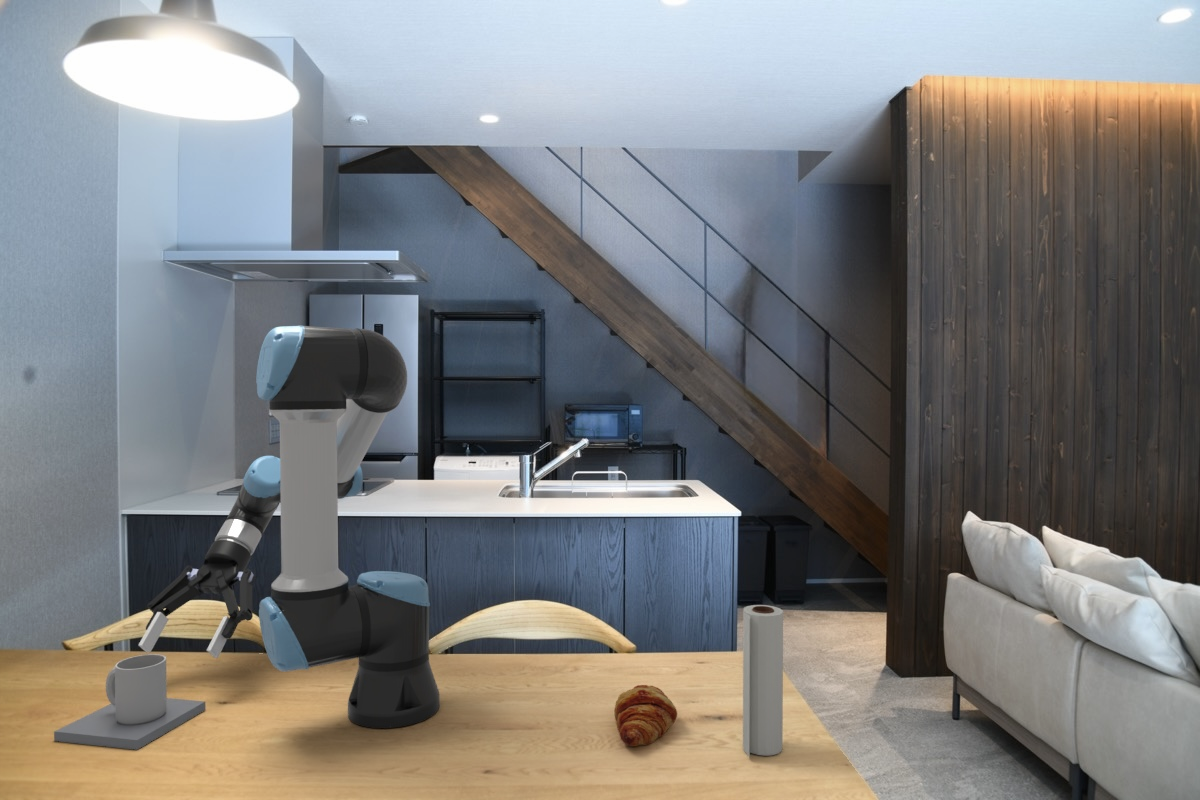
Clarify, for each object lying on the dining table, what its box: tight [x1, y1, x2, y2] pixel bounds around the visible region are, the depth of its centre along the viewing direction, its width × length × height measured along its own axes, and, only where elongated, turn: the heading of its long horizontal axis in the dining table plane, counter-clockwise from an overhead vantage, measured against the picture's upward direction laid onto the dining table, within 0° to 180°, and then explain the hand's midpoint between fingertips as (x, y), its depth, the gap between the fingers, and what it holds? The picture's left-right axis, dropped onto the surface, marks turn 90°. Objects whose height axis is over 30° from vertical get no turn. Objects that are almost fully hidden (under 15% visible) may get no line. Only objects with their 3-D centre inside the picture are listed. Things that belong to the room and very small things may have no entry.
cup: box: [105, 653, 168, 725], centre depth 129 cm, size 7×10×9 cm
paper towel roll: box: [742, 604, 784, 760], centre depth 120 cm, size 7×6×21 cm
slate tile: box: [53, 697, 207, 751], centre depth 129 cm, size 15×15×2 cm
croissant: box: [614, 684, 678, 747], centre depth 128 cm, size 21×10×8 cm, turn 167°
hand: (177, 651), depth 138 cm, fingers open, 13 cm apart
